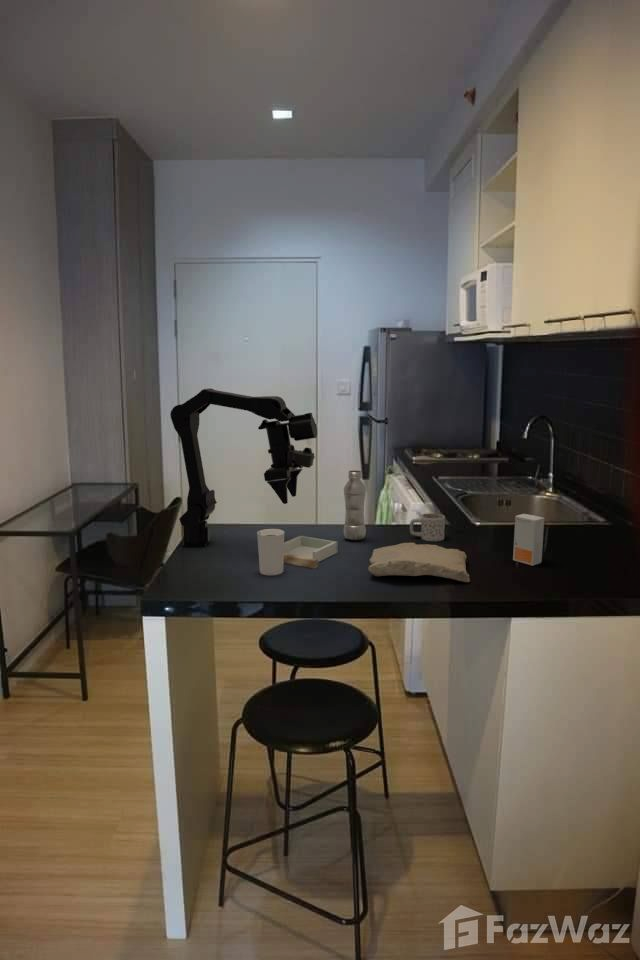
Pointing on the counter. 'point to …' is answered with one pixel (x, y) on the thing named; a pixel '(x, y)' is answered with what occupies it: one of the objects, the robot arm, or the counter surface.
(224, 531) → the counter surface
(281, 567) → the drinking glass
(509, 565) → the counter surface
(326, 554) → the tray
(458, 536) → the counter surface
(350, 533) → the plastic bottle
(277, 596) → the counter surface
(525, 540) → the skincare box
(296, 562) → the oak rail
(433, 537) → the mug
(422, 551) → the beige flat stone slab
